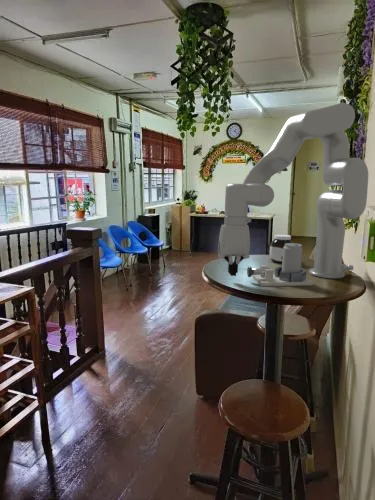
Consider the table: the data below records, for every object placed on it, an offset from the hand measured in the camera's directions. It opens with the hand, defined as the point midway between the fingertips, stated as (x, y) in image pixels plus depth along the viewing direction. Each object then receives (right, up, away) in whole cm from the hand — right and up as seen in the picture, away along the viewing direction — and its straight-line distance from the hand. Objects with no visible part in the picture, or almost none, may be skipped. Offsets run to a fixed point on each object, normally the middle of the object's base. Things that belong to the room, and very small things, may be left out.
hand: (232, 274), depth 118 cm
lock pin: (+9, -1, +1) cm, 9 cm away
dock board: (+17, -3, +3) cm, 18 cm away
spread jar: (+27, +3, +35) cm, 44 cm away
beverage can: (+21, -2, +3) cm, 21 cm away
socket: (+21, -1, +3) cm, 21 cm away
